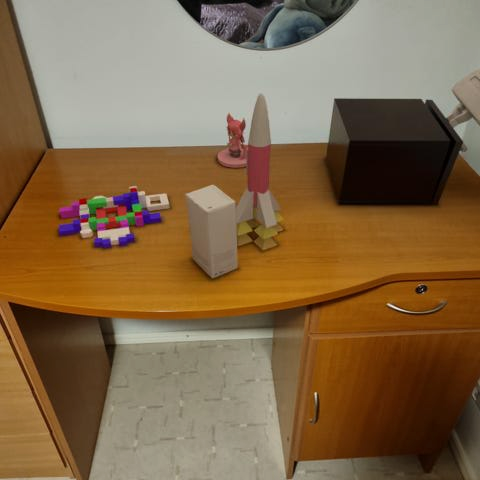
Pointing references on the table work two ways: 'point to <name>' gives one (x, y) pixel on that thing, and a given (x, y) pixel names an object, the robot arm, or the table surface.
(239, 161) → the toy figure
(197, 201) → the cosmetic box
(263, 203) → the toy rocket
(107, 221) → the building block set
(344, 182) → the oven
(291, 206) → the table surface
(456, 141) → the oven door
